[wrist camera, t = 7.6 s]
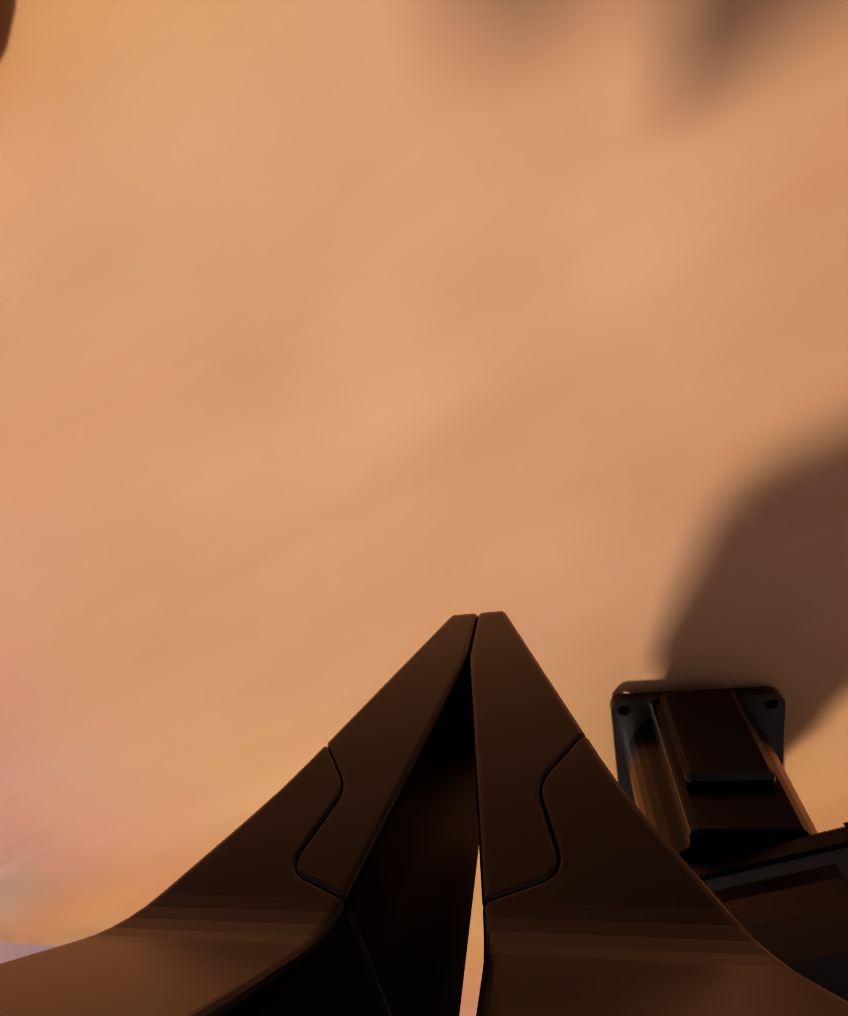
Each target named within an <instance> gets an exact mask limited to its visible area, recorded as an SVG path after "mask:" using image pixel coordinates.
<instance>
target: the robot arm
mask: <svg viewBox="0 0 848 1016" xmlns="http://www.w3.org/2000/svg"><path fill="white" fill-rule="evenodd" d="M768 699H772V700H771V701H768V702H765V701H766V700H768ZM620 706H627V707H626V708H619V707H620ZM610 708H611V718H612V729H613V739H614V749H615V759H616V769H617V779H618V782H617V781H616V779H615V778H614V776H613V775H612V774H611V772H610V771H609V769H608V768H607V767H606V765H605V764H604V762H603V761H602V760H601V758H600V757H599V755H598V754H597V752H596V751H595V749H594V747H593V746H592V744H591V743H590V741H589V740H588V739H587V738H585V734H584V733H583V731H582V730H581V728H580V727H579V725H578V724H577V722H576V720H575V719H574V717H573V716H572V714H571V713H570V711H569V710H568V708H567V707H566V705H565V704H564V702H563V701H562V699H561V697H560V696H559V694H558V693H557V691H556V690H555V688H554V687H553V685H552V684H551V682H550V681H549V679H548V678H547V676H546V675H545V673H544V671H543V670H542V668H541V667H540V665H539V664H538V662H537V661H536V659H535V658H534V656H533V655H532V653H531V652H530V650H529V649H528V647H527V645H526V644H525V642H524V641H523V639H522V638H521V636H520V635H519V633H518V632H517V630H516V629H515V627H514V626H513V624H512V623H511V621H510V619H509V618H508V616H507V615H506V614H505V613H504V612H502V611H498V612H487V613H481V614H480V615H479V616H477V615H476V614H464V615H454V616H452V617H451V618H450V619H449V620H448V621H447V622H446V623H445V624H444V625H443V626H442V627H441V628H440V629H439V630H438V631H437V632H436V633H435V634H434V635H433V636H432V637H431V638H430V639H429V640H428V641H427V642H426V643H425V644H424V645H423V646H422V647H421V648H420V649H419V650H418V651H417V652H416V653H415V654H414V655H413V656H412V658H411V659H410V660H409V661H408V662H407V663H406V664H405V665H404V666H403V667H402V668H401V669H400V670H399V671H398V672H397V673H396V674H395V675H394V676H393V677H392V678H391V679H390V680H389V681H388V682H387V683H386V684H385V685H384V686H383V687H382V688H381V689H380V690H379V691H378V692H377V693H376V694H375V695H374V696H373V697H372V698H371V699H370V700H369V702H368V703H367V704H366V705H365V706H364V707H363V708H362V709H361V710H360V711H359V712H358V713H357V714H356V715H355V716H354V717H353V718H352V719H351V720H350V721H349V722H348V723H347V724H346V725H345V726H344V727H343V728H342V729H341V730H340V731H339V732H338V733H337V734H336V735H335V736H334V737H333V738H332V739H331V740H330V741H329V742H328V747H323V748H322V749H321V750H320V751H319V752H318V753H317V754H316V755H315V756H314V758H313V759H312V760H311V761H310V762H309V763H308V764H307V765H306V766H305V767H304V768H303V769H302V770H300V771H299V772H298V773H297V774H296V775H295V776H294V777H293V778H292V779H291V780H290V781H289V782H288V783H287V784H286V785H285V786H284V787H283V788H282V789H281V790H280V791H279V792H278V793H277V794H276V795H274V796H273V797H272V798H271V799H270V800H269V801H268V802H267V803H266V804H264V805H263V806H262V807H261V808H260V809H259V810H258V811H257V812H255V813H254V814H253V815H252V816H251V817H250V818H249V819H248V820H247V821H245V822H244V823H243V824H242V825H241V826H240V827H238V828H237V829H236V830H235V831H234V832H233V833H231V834H230V835H229V836H228V837H227V838H226V839H224V840H223V841H222V842H221V843H220V844H219V845H217V846H216V847H215V848H214V849H213V850H212V851H211V852H209V853H208V854H207V855H206V856H205V857H204V858H202V859H201V860H200V861H199V862H198V863H197V864H195V865H194V866H193V867H192V868H191V869H190V870H188V871H187V872H186V873H185V874H184V875H183V876H181V877H180V878H179V879H178V880H177V881H176V882H175V883H173V884H172V885H171V886H170V887H169V888H168V889H166V890H165V891H164V892H163V893H162V894H160V895H159V896H158V897H157V898H155V899H154V900H153V901H152V902H150V903H149V904H148V905H147V906H145V907H144V908H143V909H141V910H140V911H138V912H137V913H135V914H134V915H132V916H131V917H129V918H128V919H126V920H124V921H122V922H120V923H119V924H117V925H115V926H113V927H111V928H109V929H107V930H105V931H102V932H100V933H98V934H96V935H93V936H90V937H88V938H85V939H82V940H79V941H75V942H72V943H69V944H65V945H62V946H59V947H55V948H52V949H49V950H45V951H42V952H38V953H35V954H32V955H29V956H25V957H22V958H19V959H15V960H12V961H8V962H5V963H1V964H0V1016H459V1013H460V1005H461V996H462V987H463V979H464V970H465V961H466V953H467V944H468V935H469V927H470V918H471V909H472V901H473V892H474V883H475V875H476V866H477V857H478V849H479V851H480V869H481V887H482V904H483V924H484V965H483V973H482V980H481V987H480V993H479V1000H478V1007H477V1014H476V1016H848V822H846V823H843V824H844V827H840V828H836V829H832V830H828V831H824V832H820V833H818V832H817V830H816V828H815V826H814V824H813V823H812V821H811V819H810V817H809V815H808V813H807V811H806V809H805V808H804V806H803V804H802V802H801V800H800V798H799V796H798V794H797V792H796V791H795V789H794V787H793V785H792V783H791V781H790V779H789V777H788V775H787V774H786V772H785V770H784V768H783V766H782V761H783V740H784V718H785V700H784V698H783V697H782V695H781V693H780V692H779V691H778V690H777V689H775V688H773V687H753V688H733V689H714V690H694V691H674V692H654V693H635V694H620V695H616V696H615V697H613V698H612V699H611V702H610Z"/></svg>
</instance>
